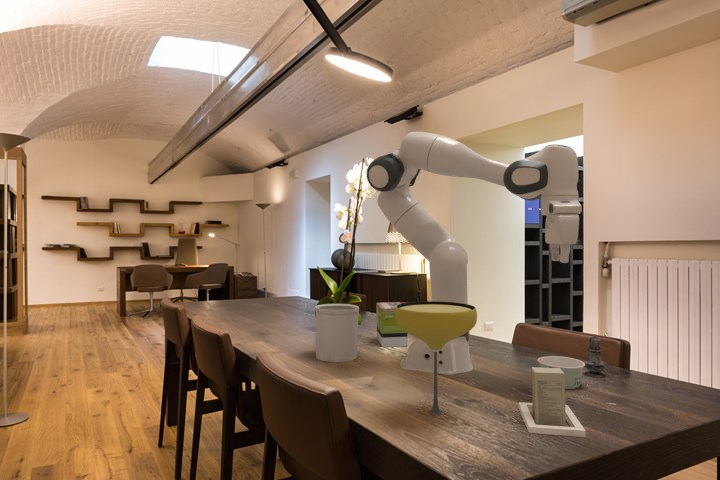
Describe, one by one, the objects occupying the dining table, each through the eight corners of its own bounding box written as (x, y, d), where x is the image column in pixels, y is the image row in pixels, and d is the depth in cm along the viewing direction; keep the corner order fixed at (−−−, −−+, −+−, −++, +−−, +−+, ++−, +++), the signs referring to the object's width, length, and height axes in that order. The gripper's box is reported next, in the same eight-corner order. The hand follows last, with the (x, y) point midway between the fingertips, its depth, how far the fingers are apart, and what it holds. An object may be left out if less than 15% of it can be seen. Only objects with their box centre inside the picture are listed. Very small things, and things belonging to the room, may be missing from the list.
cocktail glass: (493, 428, 101) (493, 310, 100) (414, 439, 95) (413, 314, 95) (453, 400, 118) (452, 299, 118) (384, 408, 113) (384, 302, 113)
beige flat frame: (528, 439, 95) (528, 426, 95) (518, 413, 109) (518, 402, 109) (585, 443, 93) (585, 430, 93) (567, 416, 107) (567, 405, 107)
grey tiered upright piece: (608, 378, 136) (608, 336, 136) (586, 377, 137) (586, 335, 137) (602, 372, 142) (602, 332, 142) (581, 371, 143) (581, 331, 143)
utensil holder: (351, 351, 169) (351, 302, 168) (365, 362, 154) (365, 308, 154) (310, 355, 164) (310, 304, 164) (321, 366, 150) (320, 310, 150)
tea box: (375, 338, 190) (375, 302, 190) (400, 338, 191) (400, 301, 191) (381, 347, 175) (381, 307, 175) (408, 346, 176) (408, 307, 176)
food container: (582, 395, 122) (582, 369, 122) (533, 387, 128) (533, 363, 128) (587, 383, 132) (587, 359, 132) (542, 376, 138) (542, 354, 138)
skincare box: (562, 423, 103) (562, 367, 103) (566, 431, 99) (566, 373, 99) (530, 421, 104) (530, 365, 104) (533, 429, 100) (533, 371, 100)
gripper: (539, 210, 133) (539, 259, 133) (555, 205, 113) (555, 263, 113) (563, 210, 132) (563, 260, 132) (583, 205, 112) (583, 264, 112)
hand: (559, 261), depth 122 cm, fingers open, 8 cm apart
